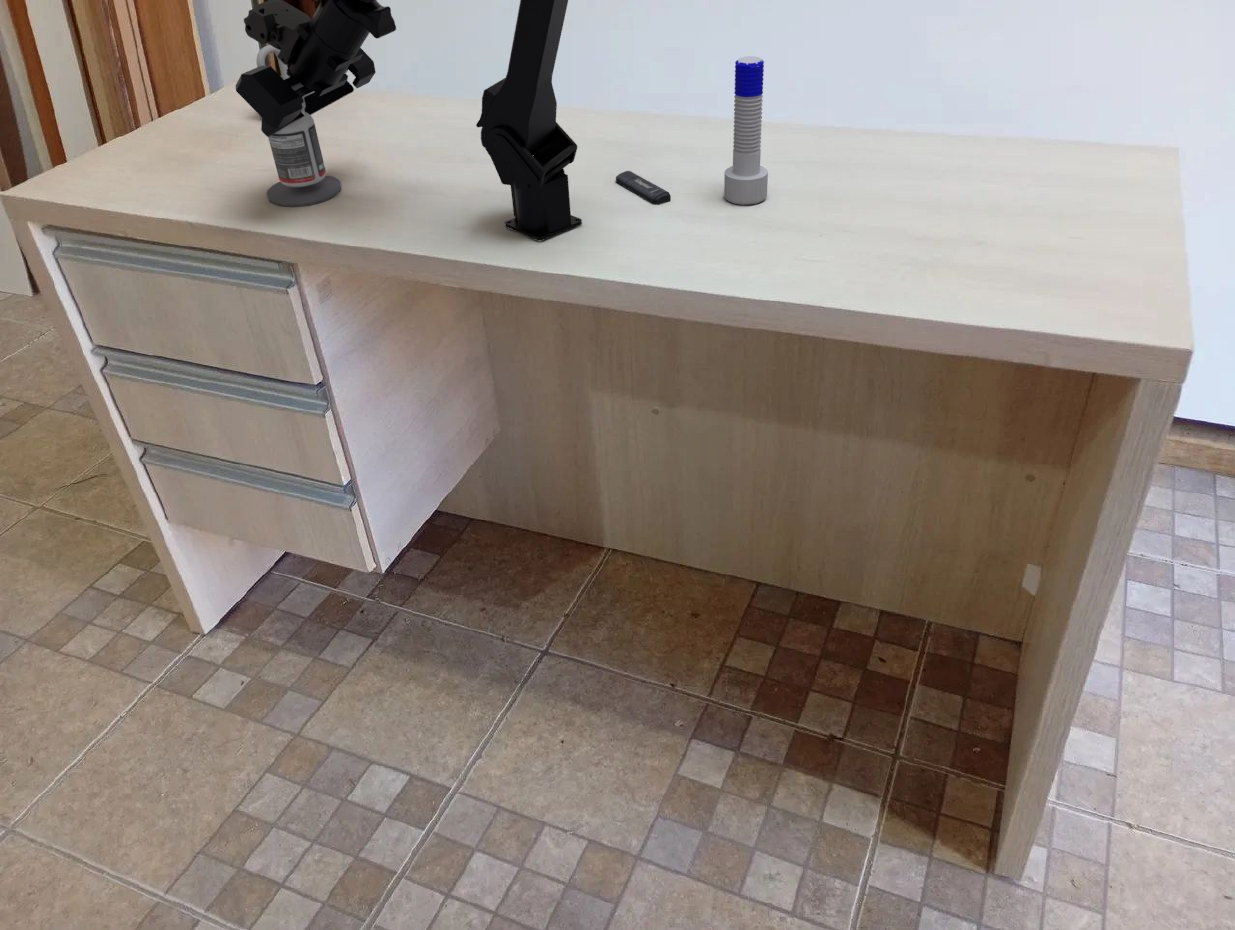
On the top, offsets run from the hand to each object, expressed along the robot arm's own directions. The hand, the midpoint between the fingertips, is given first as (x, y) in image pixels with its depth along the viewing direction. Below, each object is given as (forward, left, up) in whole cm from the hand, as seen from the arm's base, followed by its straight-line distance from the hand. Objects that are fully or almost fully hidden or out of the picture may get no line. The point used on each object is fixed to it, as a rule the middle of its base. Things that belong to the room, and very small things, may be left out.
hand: (281, 125), depth 124 cm
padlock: (+30, -14, -9) cm, 34 cm away
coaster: (-1, 0, -8) cm, 8 cm away
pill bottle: (-1, -1, -7) cm, 7 cm away
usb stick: (-33, -28, -9) cm, 45 cm away
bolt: (-44, -34, -8) cm, 57 cm away
